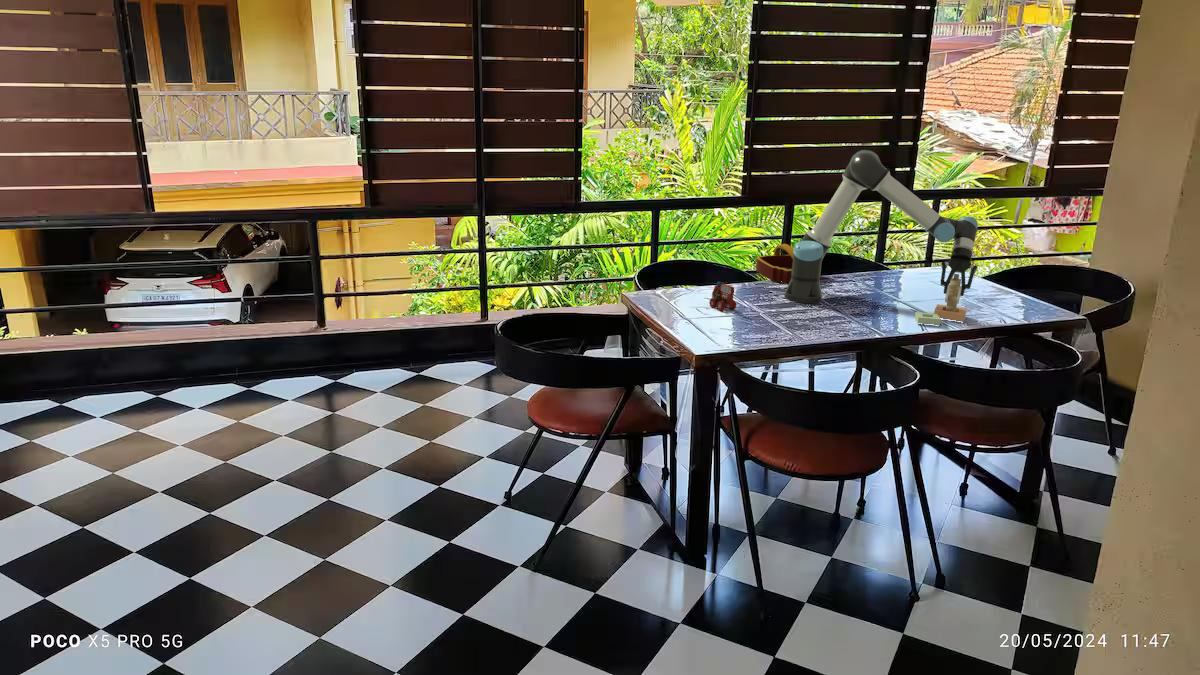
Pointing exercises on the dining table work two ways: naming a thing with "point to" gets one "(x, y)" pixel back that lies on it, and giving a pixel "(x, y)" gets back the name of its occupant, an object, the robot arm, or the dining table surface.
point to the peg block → (953, 293)
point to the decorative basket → (776, 264)
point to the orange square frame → (950, 313)
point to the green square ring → (927, 318)
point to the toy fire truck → (722, 297)
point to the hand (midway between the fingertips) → (951, 301)
